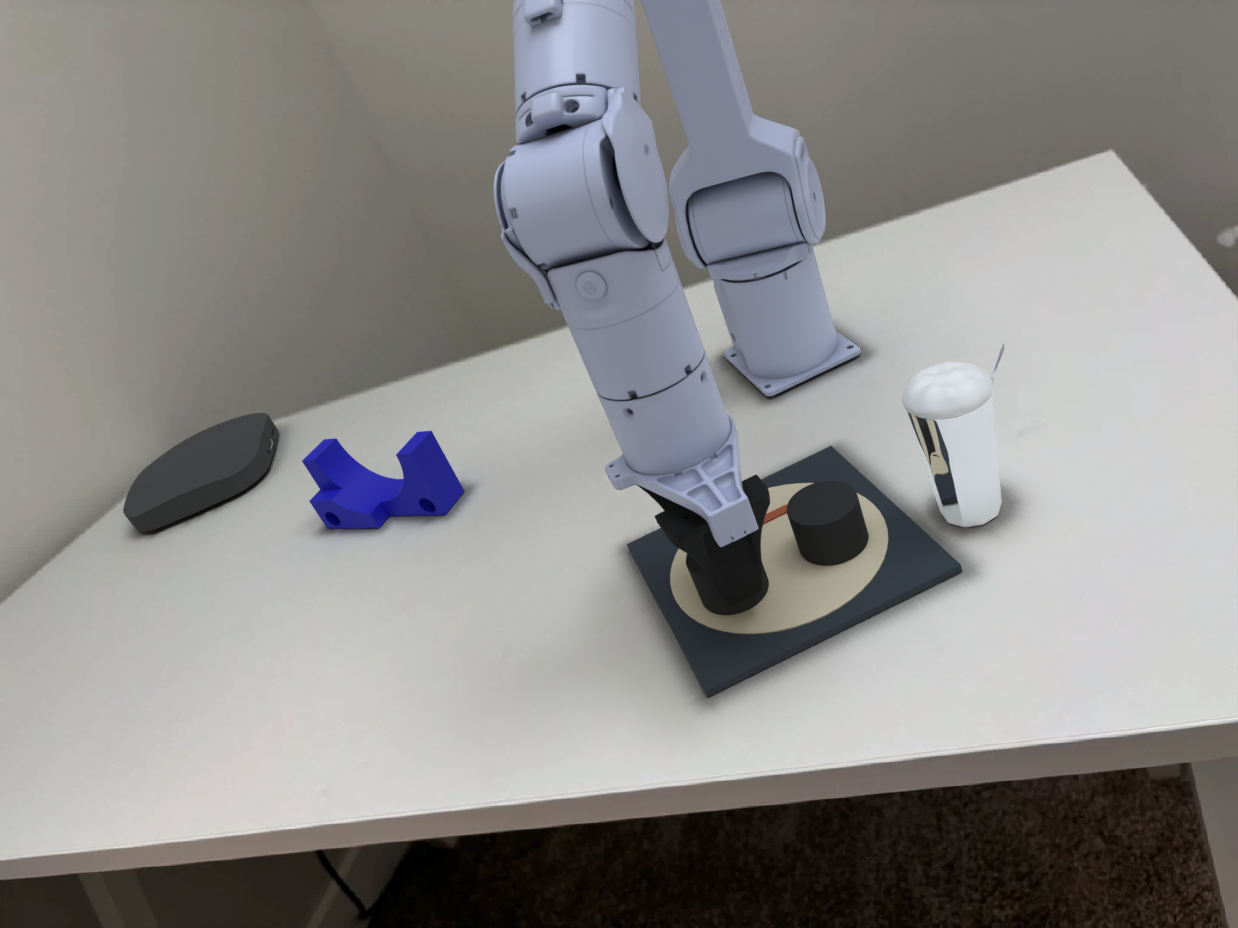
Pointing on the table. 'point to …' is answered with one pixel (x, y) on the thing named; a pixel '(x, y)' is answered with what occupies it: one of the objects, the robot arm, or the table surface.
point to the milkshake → (957, 438)
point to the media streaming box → (202, 471)
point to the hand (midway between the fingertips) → (728, 572)
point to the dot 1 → (713, 598)
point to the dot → (828, 522)
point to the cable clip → (381, 484)
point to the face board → (794, 580)
